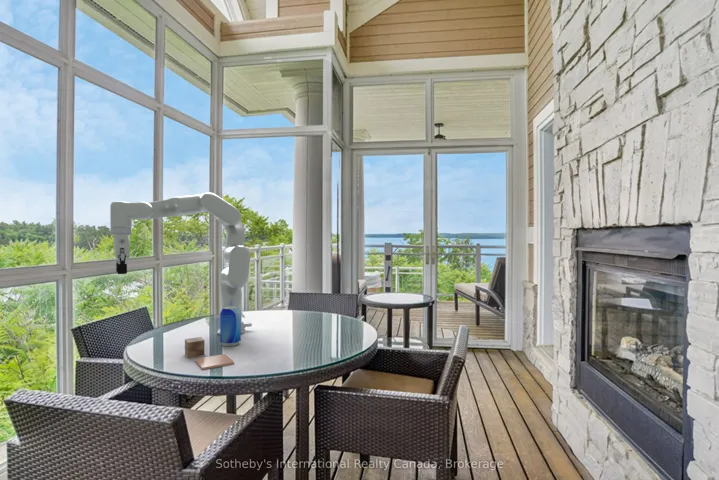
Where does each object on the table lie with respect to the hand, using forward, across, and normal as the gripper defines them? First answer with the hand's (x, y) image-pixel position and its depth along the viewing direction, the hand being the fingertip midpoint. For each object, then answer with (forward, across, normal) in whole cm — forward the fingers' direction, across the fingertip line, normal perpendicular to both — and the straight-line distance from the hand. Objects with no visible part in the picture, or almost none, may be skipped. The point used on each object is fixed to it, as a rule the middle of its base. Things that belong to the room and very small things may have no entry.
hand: (121, 272), depth 157 cm
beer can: (+31, -19, -39) cm, 54 cm away
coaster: (+31, -40, -27) cm, 57 cm away
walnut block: (+31, -26, -23) cm, 47 cm away
